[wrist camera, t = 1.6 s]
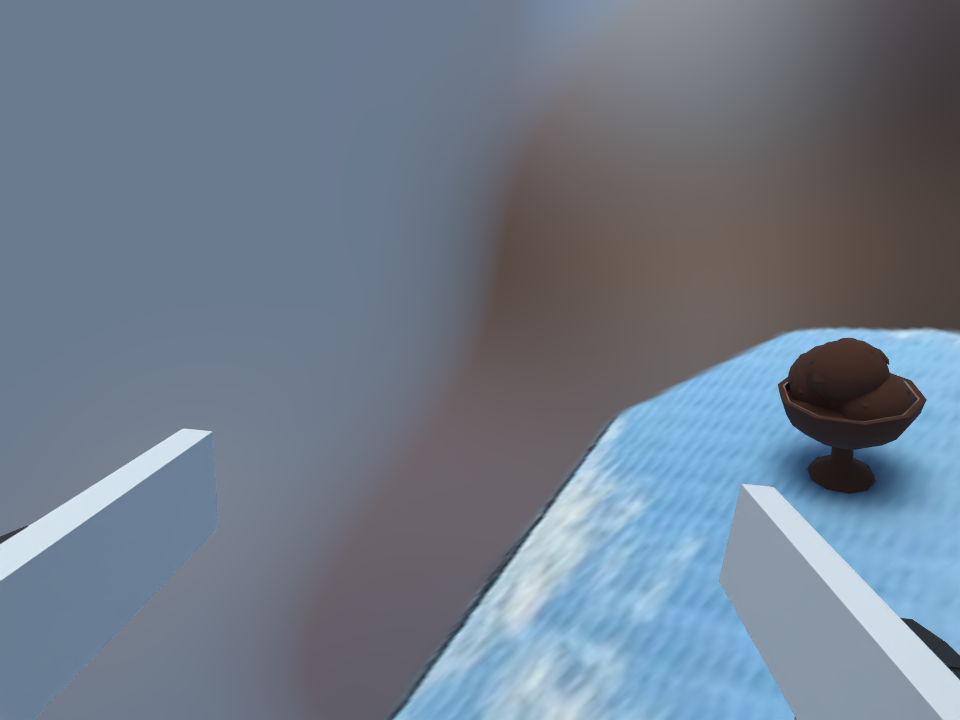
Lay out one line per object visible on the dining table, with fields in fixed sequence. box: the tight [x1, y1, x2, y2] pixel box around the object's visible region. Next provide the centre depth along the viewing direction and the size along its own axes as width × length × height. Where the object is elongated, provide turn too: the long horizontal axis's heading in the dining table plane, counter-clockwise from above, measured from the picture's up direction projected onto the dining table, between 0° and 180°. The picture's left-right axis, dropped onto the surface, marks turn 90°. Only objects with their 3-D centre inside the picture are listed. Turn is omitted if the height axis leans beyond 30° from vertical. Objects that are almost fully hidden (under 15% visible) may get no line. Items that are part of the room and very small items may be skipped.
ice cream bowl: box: [778, 338, 926, 493], centre depth 49 cm, size 11×11×15 cm
